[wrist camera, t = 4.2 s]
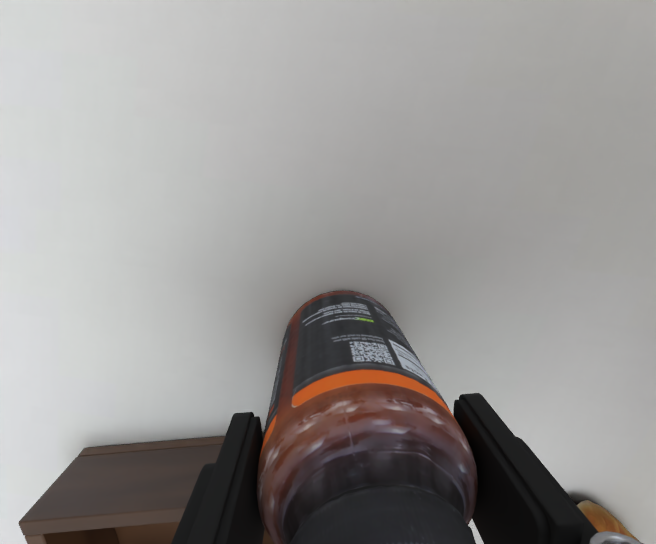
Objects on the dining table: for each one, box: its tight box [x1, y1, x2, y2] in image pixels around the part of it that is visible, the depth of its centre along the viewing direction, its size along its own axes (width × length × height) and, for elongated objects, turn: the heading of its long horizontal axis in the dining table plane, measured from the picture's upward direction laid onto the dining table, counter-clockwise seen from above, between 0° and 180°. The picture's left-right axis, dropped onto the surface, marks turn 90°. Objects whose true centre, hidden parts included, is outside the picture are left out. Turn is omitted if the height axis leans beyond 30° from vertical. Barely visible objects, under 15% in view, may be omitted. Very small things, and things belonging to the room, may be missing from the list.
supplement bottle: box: [256, 291, 478, 544], centre depth 11 cm, size 6×6×11 cm
